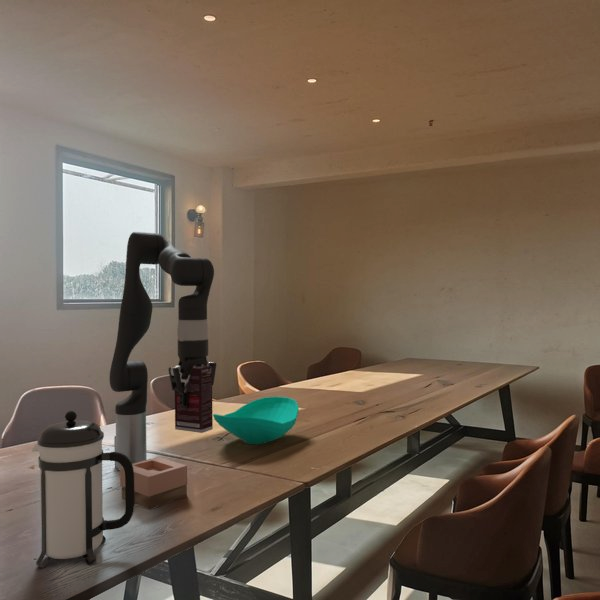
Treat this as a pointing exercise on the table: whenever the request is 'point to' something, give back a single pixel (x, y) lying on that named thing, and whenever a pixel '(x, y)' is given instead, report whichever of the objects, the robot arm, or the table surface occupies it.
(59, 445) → the coffee press
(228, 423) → the table top decor
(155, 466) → the tower top
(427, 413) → the table surface
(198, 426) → the supplement box
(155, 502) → the tower bottom
